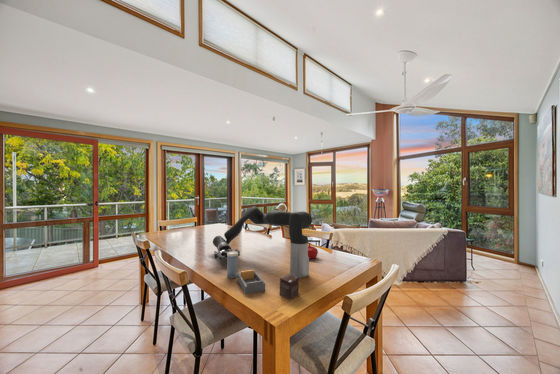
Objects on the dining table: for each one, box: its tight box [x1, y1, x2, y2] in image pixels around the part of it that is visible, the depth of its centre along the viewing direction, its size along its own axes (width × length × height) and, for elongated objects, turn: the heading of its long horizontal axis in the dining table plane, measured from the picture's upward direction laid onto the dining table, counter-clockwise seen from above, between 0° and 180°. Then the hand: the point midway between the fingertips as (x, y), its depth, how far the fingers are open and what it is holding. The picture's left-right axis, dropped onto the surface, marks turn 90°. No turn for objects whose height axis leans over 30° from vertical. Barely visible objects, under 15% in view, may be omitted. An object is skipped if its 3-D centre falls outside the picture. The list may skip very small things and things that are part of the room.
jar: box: [226, 250, 239, 279], centre depth 115 cm, size 6×6×12 cm
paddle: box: [240, 269, 255, 280], centre depth 111 cm, size 7×1×4 cm, turn 113°
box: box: [279, 273, 300, 300], centre depth 97 cm, size 6×6×7 cm
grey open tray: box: [236, 270, 266, 295], centre depth 106 cm, size 9×16×4 cm, turn 23°
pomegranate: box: [308, 243, 319, 260], centre depth 147 cm, size 10×10×9 cm
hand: (229, 257), depth 125 cm, fingers open, 8 cm apart
